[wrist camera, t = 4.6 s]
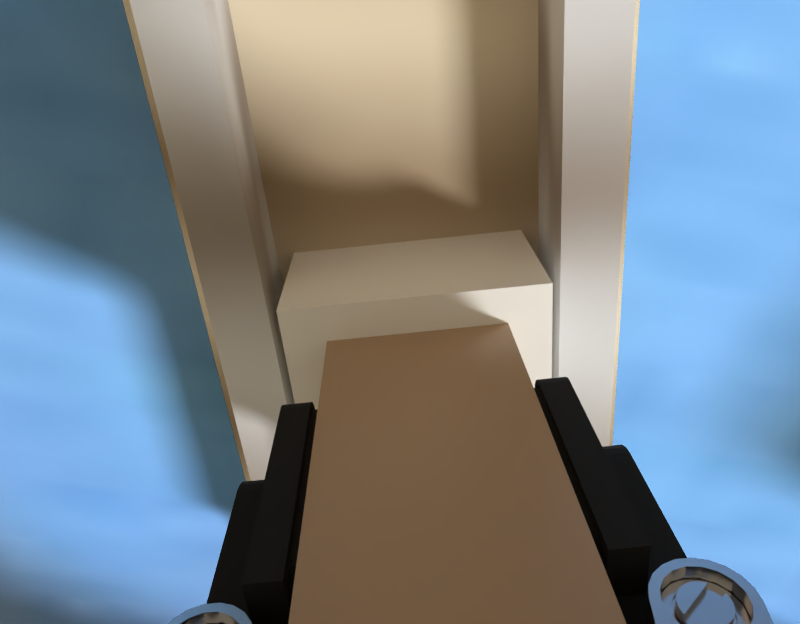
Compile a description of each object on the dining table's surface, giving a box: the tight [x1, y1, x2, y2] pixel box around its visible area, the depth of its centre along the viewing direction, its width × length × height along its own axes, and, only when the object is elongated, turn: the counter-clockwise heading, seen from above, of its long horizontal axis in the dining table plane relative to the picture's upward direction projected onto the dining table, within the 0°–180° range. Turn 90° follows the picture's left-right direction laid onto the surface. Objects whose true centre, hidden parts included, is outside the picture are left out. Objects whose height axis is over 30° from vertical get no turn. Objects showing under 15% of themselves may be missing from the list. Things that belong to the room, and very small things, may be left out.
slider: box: [276, 230, 626, 624], centre depth 12 cm, size 5×5×10 cm
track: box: [123, 0, 640, 481], centre depth 13 cm, size 24×10×6 cm, turn 5°
